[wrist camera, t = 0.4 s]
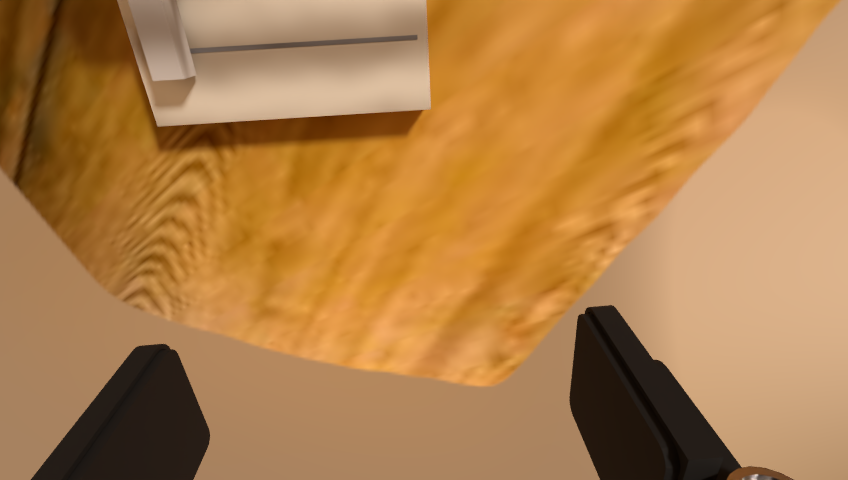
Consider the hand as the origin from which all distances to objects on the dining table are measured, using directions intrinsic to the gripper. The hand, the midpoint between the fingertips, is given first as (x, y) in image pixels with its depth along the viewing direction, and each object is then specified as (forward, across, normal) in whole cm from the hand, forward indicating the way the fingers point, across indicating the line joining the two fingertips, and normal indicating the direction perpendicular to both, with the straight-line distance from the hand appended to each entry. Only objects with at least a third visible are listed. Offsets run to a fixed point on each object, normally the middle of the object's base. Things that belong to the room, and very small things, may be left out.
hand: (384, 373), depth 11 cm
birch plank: (+29, +7, -6) cm, 30 cm away
